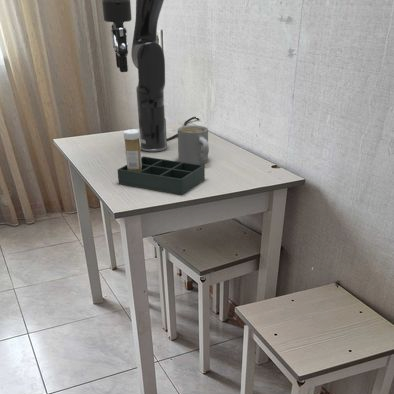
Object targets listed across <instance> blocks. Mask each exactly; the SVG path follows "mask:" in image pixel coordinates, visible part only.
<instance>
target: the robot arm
mask: <svg viewBox="0 0 394 394" xmlns="http://www.w3.org/2000/svg"><path fill="white" fill-rule="evenodd" d="M164 1H165V0H135V20H134V21H135V22H134V28H133V29H134V30H133V37H132V44H131V50H130V51H131V52H130V57H131V61H132V63H133V65H134V67H135V68H136V69H137V74H138V75H137V76H138V77H137V79H138V81H137V82H138V83H137V86H136V88H135V89H136V91H135V92H136V103H137V104H136V105H137V106H136V107H137V116H138V118H137V119H138V131H139V133H140V139H139V142H140V151H143V152H149V153H155V152H156V153H157V152H162V151H165V150H166V149H167V147H168V141H170V140H173V139H175V138H178V133H176V134H174V135H172V136H171V137H168V136H167V119H166V115H165V114H166V112H165V87H166V58H165V52H164V50H163V47H162V46H161V45H160V44H159V43H158V42H157V35H158V33H157V32H158V23H159V18H160V14H161V11H162V8H163V5H164ZM101 5H102V17H103V21H104V22H107V23H112V24H111V26H110V27H111V29H110V34H111V39H112V40H111V41H112V46H113V51H114V53H115V64H116V67H117V69H119V72H120V73H127V72H128V71H129V65H128V54H129V50H128V45H129V44H128V38H127V37H128V30H127V29H126V27H125V26H124V23H126V22H131V21H132V20H133V19H132V18H133V17H132V6H131V0H101ZM196 117H197V116H192V117H190V118H188V119H187V120H185V121H184V124H183V126H187V123H189V122H190V121H193V120H197V121H200V118H199V117H198V118H196ZM167 137H168V138H167Z"/></svg>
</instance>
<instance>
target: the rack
mask: <svg viewBox="0 0 394 394" xmlns="http://www.w3.org/2000/svg"><path fill="white" fill-rule="evenodd" d="M141 161H142V171H140V172H134V171H128V168H127V164H126V165H124V166H121V167H119V168H118V169H117V171H116V172H117V179H118V180H117V181H118V185H123V186H128V187H134V188H140V189H145V190H152V191H157V192H163V193H170V194H173V195H180V196H182V195H184V194H186V193H188V192H189V191H190V190H192V189H193V188H195V187H196V186H198V185H199V184H200V183H202V182H204V181H205V180H206V177H205V176H206V175H205V174H206V173H205V171H206V168H205V167H206V166H205V164H200V165H199V164H192V163H185V162H179V160H170V159H164V158H158V157H157V158H156V157H151V156H150V157H149V156H141Z"/></svg>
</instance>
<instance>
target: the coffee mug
mask: <svg viewBox="0 0 394 394" xmlns="http://www.w3.org/2000/svg"><path fill="white" fill-rule="evenodd" d="M177 134H178V136H177V151H178V152H177V154H178V155H177V156H178V162H185V163H192V164H199V165H205V164H206V163H208V161H209V151H210V146H209V128H208V127H207V126H204V125H199V124H198V125H195V124H193V125H186V126H184V125H183V126H179V127H178V128H177Z"/></svg>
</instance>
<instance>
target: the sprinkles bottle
mask: <svg viewBox="0 0 394 394" xmlns="http://www.w3.org/2000/svg"><path fill="white" fill-rule="evenodd" d="M123 139H124V145H125V147H124V148H125V159H126V165H127V168H128V171H134V172H140V171H142V161H141V157H142V156H141V155H142V153H141V149H140V146H141V145H140V131H139V129H125V130H124V131H123Z"/></svg>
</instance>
